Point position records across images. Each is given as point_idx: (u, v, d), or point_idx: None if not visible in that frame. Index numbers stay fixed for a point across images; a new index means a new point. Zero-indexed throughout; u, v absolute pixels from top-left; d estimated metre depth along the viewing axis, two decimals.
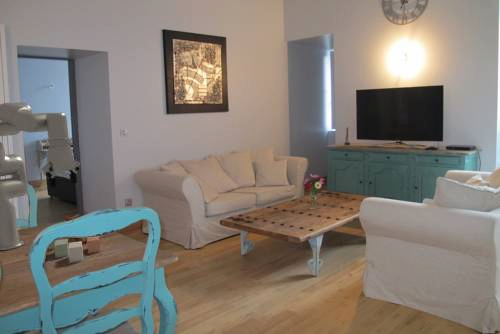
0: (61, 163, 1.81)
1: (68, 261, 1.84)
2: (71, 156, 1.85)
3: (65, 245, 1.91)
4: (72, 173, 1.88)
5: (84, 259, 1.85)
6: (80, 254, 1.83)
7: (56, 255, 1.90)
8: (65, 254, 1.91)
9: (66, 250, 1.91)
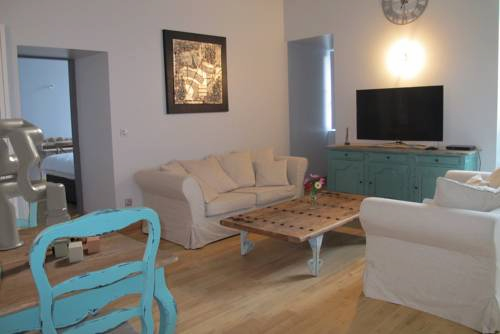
0: None
1: (68, 261, 1.84)
2: None
3: (65, 245, 1.91)
4: None
5: (84, 259, 1.85)
6: (80, 254, 1.83)
7: (56, 255, 1.90)
8: (65, 254, 1.91)
9: (66, 250, 1.91)
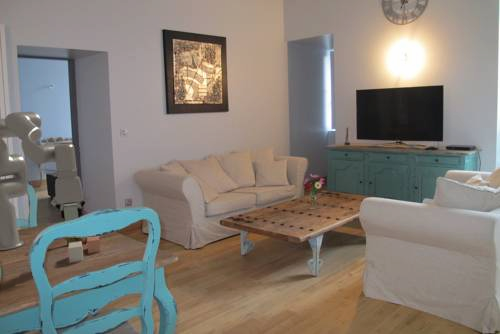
0: None
1: (68, 261, 1.84)
2: None
3: (75, 208, 1.81)
4: None
5: (84, 259, 1.85)
6: (80, 254, 1.83)
7: (66, 219, 1.80)
8: (75, 218, 1.81)
9: (76, 214, 1.81)
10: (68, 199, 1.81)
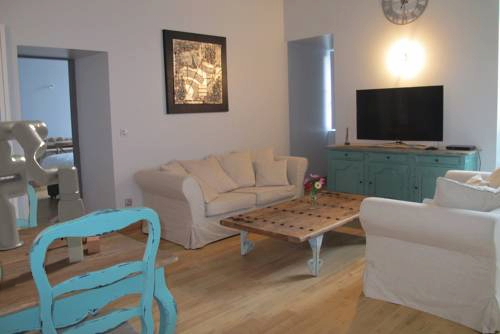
0: None
1: (68, 261, 1.84)
2: None
3: None
4: None
5: (84, 259, 1.85)
6: (80, 254, 1.83)
7: (68, 244, 1.82)
8: (78, 243, 1.83)
9: (79, 239, 1.83)
10: None
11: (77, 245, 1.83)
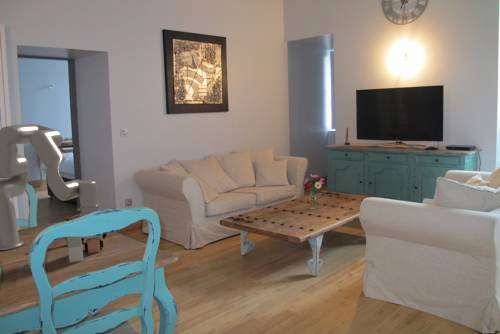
0: None
1: (68, 261, 1.84)
2: None
3: None
4: None
5: (84, 259, 1.85)
6: (80, 254, 1.83)
7: (68, 244, 1.82)
8: (78, 243, 1.83)
9: (79, 239, 1.83)
10: None
11: (77, 245, 1.83)
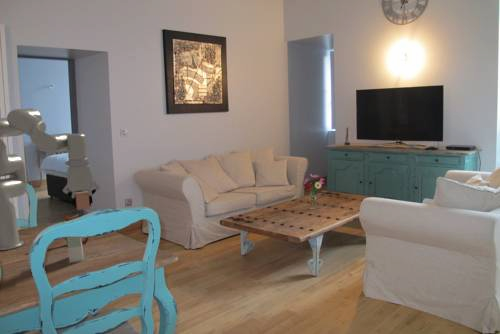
0: None
1: (68, 261, 1.84)
2: None
3: None
4: (75, 196, 1.90)
5: (84, 259, 1.85)
6: (80, 254, 1.83)
7: (68, 244, 1.82)
8: (78, 243, 1.83)
9: (79, 239, 1.83)
10: (80, 187, 1.87)
11: (77, 245, 1.83)
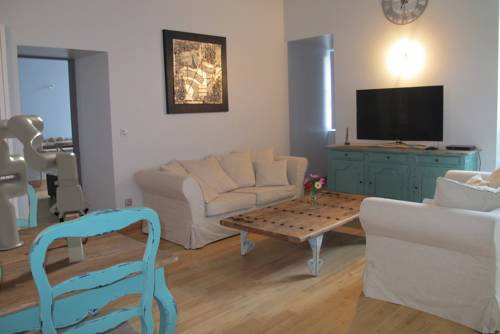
0: None
1: (68, 261, 1.84)
2: None
3: None
4: (62, 216, 1.83)
5: (84, 259, 1.85)
6: (80, 254, 1.83)
7: (68, 244, 1.82)
8: (78, 243, 1.83)
9: (79, 239, 1.83)
10: (69, 207, 1.81)
11: (77, 245, 1.83)
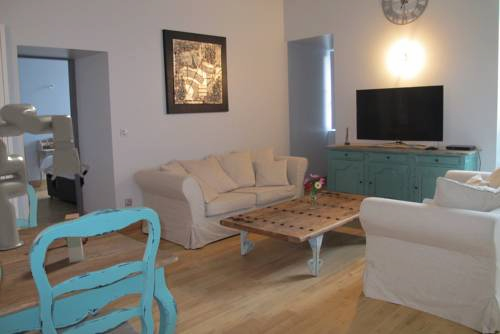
0: None
1: (68, 261, 1.84)
2: None
3: None
4: (55, 178, 1.81)
5: (84, 259, 1.85)
6: (80, 254, 1.83)
7: (68, 244, 1.82)
8: (78, 243, 1.83)
9: (79, 239, 1.83)
10: (65, 170, 1.79)
11: (77, 245, 1.83)
